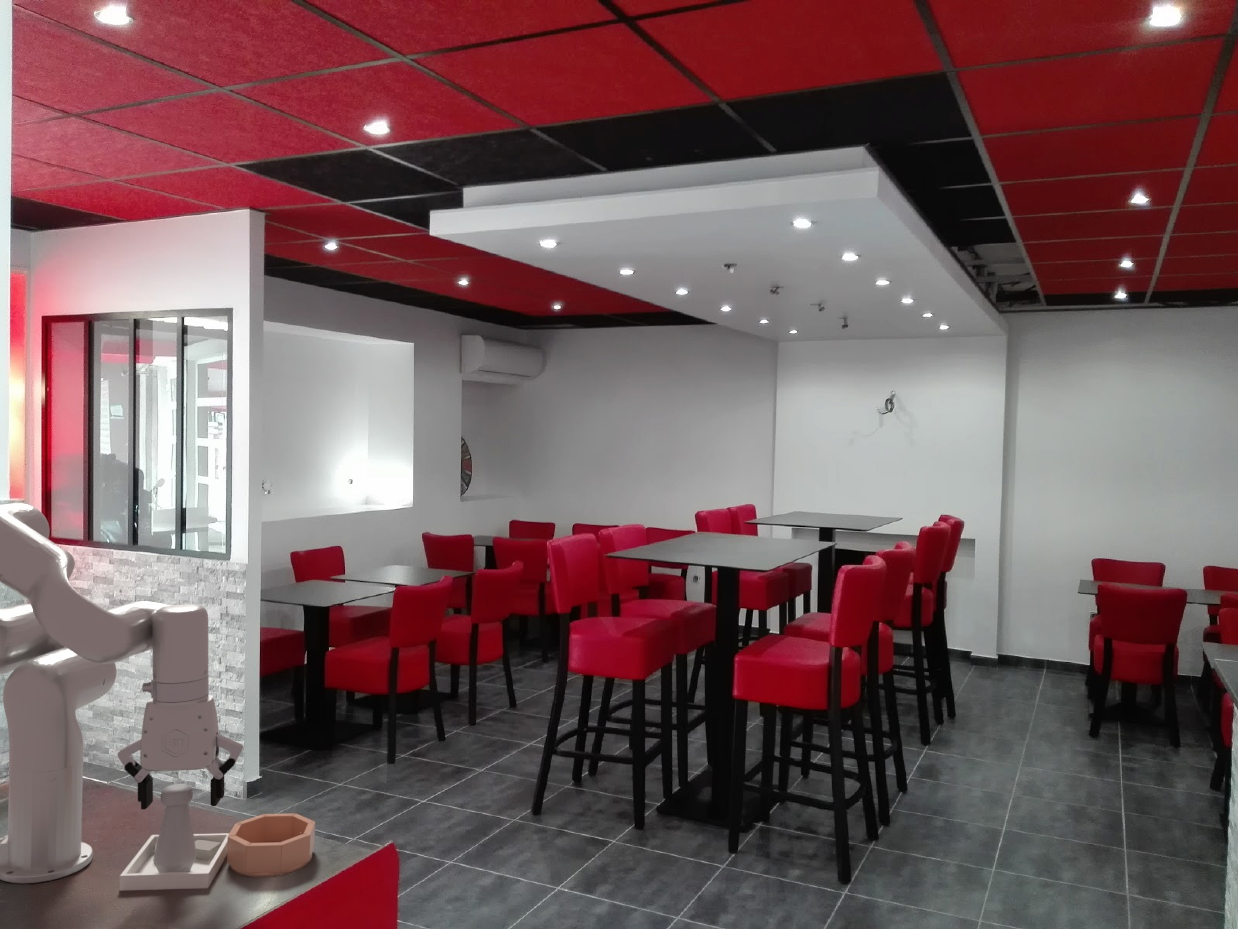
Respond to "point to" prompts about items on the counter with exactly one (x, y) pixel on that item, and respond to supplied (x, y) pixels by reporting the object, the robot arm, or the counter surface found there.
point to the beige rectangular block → (206, 849)
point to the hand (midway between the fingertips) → (181, 804)
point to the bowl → (270, 844)
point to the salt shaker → (175, 831)
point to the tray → (148, 878)
